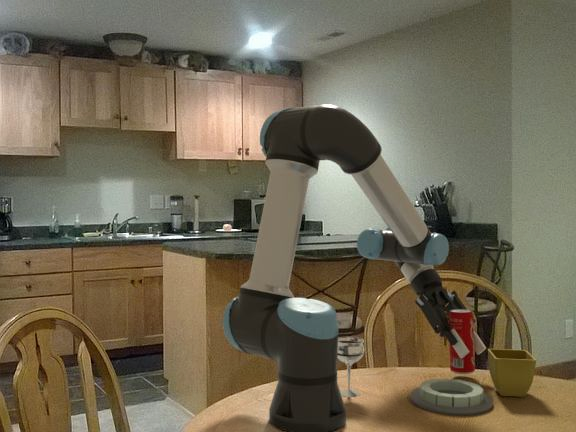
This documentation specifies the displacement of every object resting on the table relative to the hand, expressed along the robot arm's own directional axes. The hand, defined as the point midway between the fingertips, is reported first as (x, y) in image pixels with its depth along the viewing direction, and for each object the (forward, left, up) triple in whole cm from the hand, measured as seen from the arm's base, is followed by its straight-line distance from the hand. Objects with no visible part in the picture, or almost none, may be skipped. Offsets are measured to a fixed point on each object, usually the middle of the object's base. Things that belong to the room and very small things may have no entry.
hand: (473, 353), depth 158 cm
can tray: (-10, -14, -7) cm, 18 cm away
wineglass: (-31, -7, -7) cm, 32 cm away
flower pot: (+5, -10, -7) cm, 13 cm away
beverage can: (-2, +3, -6) cm, 7 cm away
